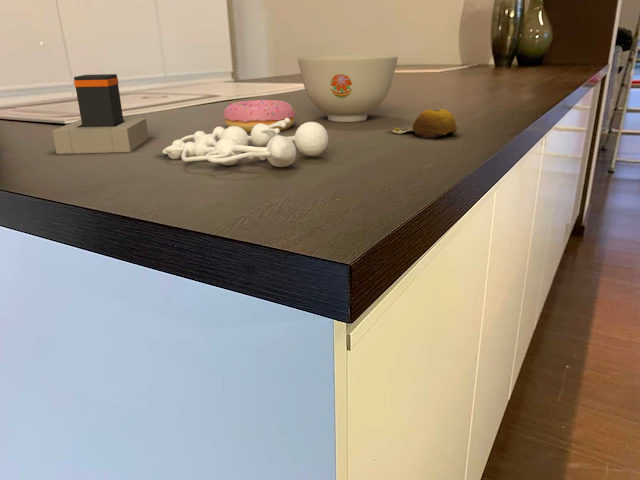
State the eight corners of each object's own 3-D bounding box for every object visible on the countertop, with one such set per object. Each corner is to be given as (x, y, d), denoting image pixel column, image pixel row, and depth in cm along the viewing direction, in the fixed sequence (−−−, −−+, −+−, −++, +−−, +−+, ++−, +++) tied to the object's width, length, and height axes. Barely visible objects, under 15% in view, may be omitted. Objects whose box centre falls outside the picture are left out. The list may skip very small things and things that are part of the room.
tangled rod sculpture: (130, 172, 62) (122, 137, 60) (216, 141, 72) (211, 110, 71) (262, 190, 51) (257, 148, 50) (339, 151, 62) (337, 115, 61)
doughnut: (209, 130, 82) (206, 102, 80) (261, 121, 89) (260, 95, 88) (259, 138, 75) (257, 107, 73) (310, 127, 83) (310, 99, 81)
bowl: (410, 116, 92) (413, 54, 88) (369, 130, 79) (370, 59, 76) (330, 111, 100) (329, 54, 96) (280, 123, 87) (277, 58, 83)
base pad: (56, 154, 66) (51, 130, 65) (83, 141, 75) (79, 119, 74) (130, 153, 67) (127, 128, 66) (148, 139, 75) (145, 118, 74)
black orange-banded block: (85, 150, 69) (72, 77, 65) (96, 144, 73) (85, 74, 69) (118, 149, 69) (107, 76, 66) (127, 143, 73) (117, 74, 69)
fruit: (438, 128, 80) (439, 103, 78) (472, 137, 72) (475, 109, 71) (388, 133, 77) (389, 107, 76) (419, 143, 70) (420, 114, 68)
